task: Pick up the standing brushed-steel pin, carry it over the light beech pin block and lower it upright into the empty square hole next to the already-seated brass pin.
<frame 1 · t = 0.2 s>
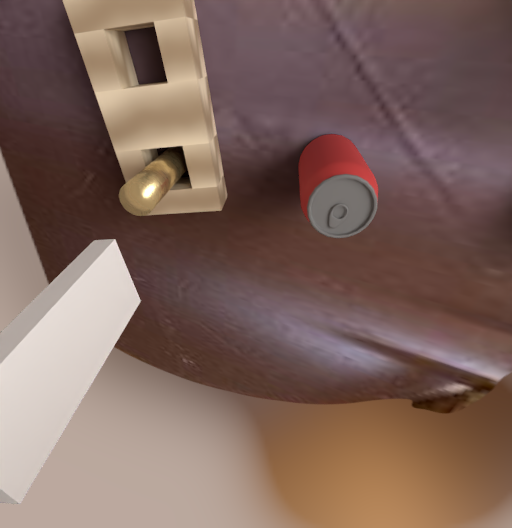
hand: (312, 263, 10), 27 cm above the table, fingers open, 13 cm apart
beer can: (327, 163, 36), on the table
pin block: (166, 111, 34), on the table
brass pin: (178, 158, 37), resting in pin block
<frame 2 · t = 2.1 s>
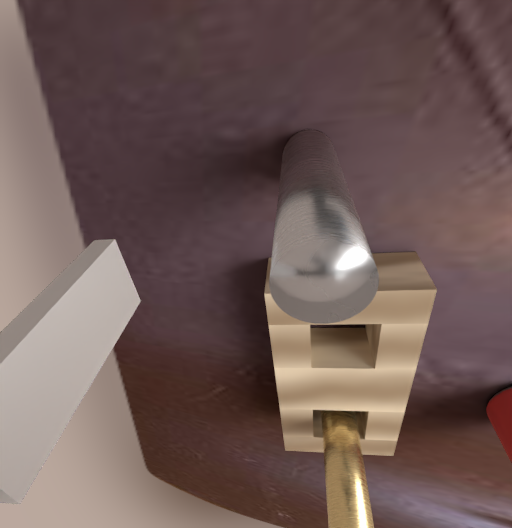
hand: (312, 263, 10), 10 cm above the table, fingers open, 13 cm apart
pin block: (336, 349, 28), on the table
brass pin: (334, 384, 31), resting in pin block
steel pin: (308, 156, 19), on the table
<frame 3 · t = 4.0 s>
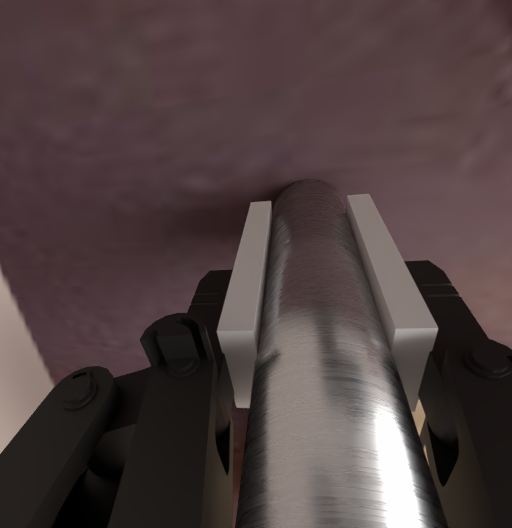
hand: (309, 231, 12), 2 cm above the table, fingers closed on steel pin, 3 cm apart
steel pin: (308, 214, 13), on the table, touching gripper
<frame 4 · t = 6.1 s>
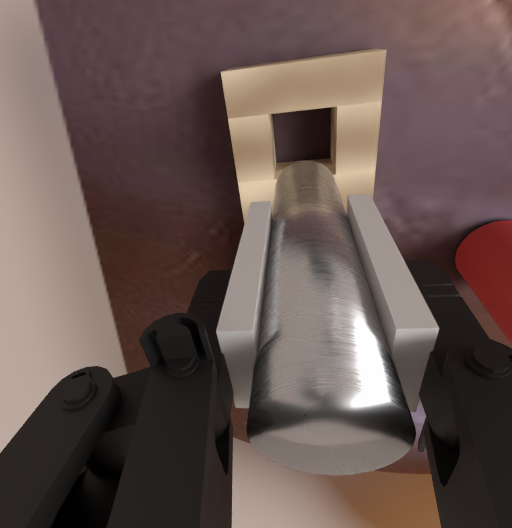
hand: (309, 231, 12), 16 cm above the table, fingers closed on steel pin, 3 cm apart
beer can: (489, 247, 30), on the table
pin block: (304, 191, 28), on the table
steel pin: (305, 191, 16), point 12 cm above the table, touching gripper
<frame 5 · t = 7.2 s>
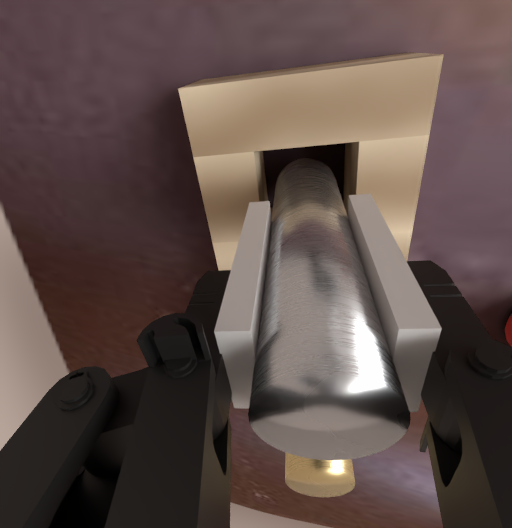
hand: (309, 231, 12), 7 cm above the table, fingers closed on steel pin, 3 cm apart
pin block: (306, 243, 21), on the table
brass pin: (308, 301, 24), resting in pin block
steel pin: (305, 188, 16), point 3 cm above the table, touching gripper
when the fingers open (5 cm above the table, at t = 8.2 s): steel pin stays where it is, resting in pin block.
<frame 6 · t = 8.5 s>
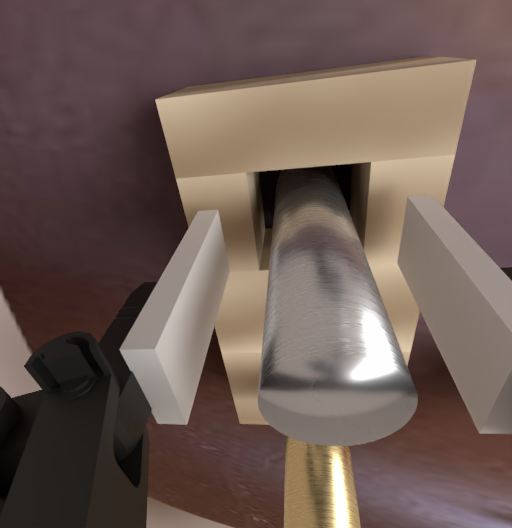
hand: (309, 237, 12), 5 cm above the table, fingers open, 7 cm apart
pin block: (307, 267, 19), on the table
brass pin: (309, 327, 22), resting in pin block
steel pin: (306, 186, 16), resting in pin block
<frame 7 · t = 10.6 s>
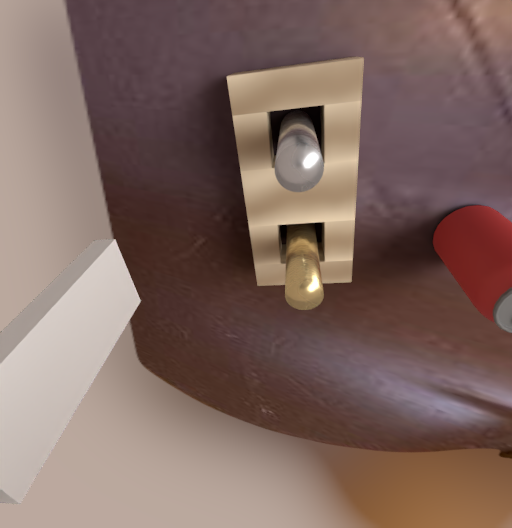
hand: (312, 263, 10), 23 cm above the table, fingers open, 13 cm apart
beer can: (463, 230, 34), on the table
pin block: (298, 181, 32), on the table
brass pin: (300, 225, 35), resting in pin block
steel pin: (296, 128, 29), resting in pin block
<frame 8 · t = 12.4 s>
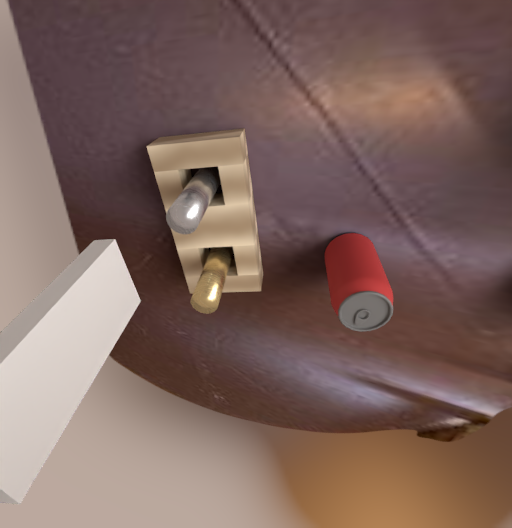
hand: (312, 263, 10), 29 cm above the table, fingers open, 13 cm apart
beer can: (348, 251, 43), on the table
pin block: (217, 213, 42), on the table
brass pin: (223, 246, 44), resting in pin block
steel pin: (210, 175, 39), resting in pin block
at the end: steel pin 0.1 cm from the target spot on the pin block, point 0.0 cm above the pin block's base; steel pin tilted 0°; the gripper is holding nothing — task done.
